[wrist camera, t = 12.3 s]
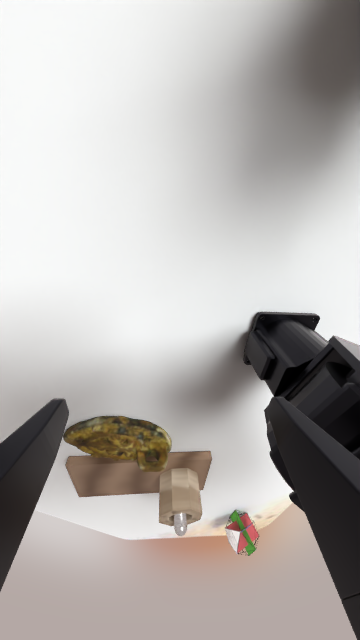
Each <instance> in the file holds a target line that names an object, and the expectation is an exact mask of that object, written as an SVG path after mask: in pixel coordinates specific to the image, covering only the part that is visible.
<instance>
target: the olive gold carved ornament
mask: <svg viewBox="0 0 360 640" xmlns="http://www.w3.org/2000/svg"><path fill="white" fill-rule="evenodd" d="M63 438H64V440H65V442H67V443H69V444H71V445H73V446H76V447H77V448H78V449H80V450H81V451H83V452H86V453H89V454H91V457H93V458H100V457H102V458H103V457H106V458H112V459H114V461H119V460H132V461H135V460H137V464H138V467H139V468H140V470H142V471H143V472H161V471H163V470H164V469H165V467H166V465H167V462H168V452H170V450H171V438H170V437H169V435H168V434H167V433H166V432H165V431H164V430H163V429H162V428H160V427H159V426H157V425H155V424H153V423H151V422H148V421H144V420H138V419H131V418H127V417H123V416H102V417H95V418H92V419H90V420H86V421H83V422H79V423H77V424H75V425H74V426H71V427H70V428H69V429H67V431H66V432H65V434H64V435H63ZM150 456H153V457H155V458H156V459H157V460H158V461H147V460H146V458H147V457H150Z"/></svg>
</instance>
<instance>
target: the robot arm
mask: <svg viewBox="0 0 360 640" xmlns="http://www.w3.org/2000/svg"><path fill="white" fill-rule="evenodd" d="M262 316H263V318H261V319H260V317H262ZM319 320H320V317H319V316H318V315H317V314H312V313H282V312H260V313H258V314H257V315H256V318H255V321H254V325H253V328H252V331H251V332H250V334H249V337H248V340H247V344H246V347H245V351H244V352H245V355H244V358H243V361H244V363H245V364H247V365H252V366H253V368H254V370H255V371H256V373H257V375H258V377H259V378H260V379H261V380H265V382H266V383H267V385H268V387H269V389H270V390H271V392H272V394H273V395H274V397H272V399H271V401H270V403H269V405H268V406H267V408H266V409H265V410H264V412H265V418H266V424H267V437H268V440H269V444H270V447H271V451H270V457H271V459H272V461H273V463H274V465H275V467H276V468H277V470H278V472H279V473H280V474H281V476H282V477H283V479H284V480H285V482H286V483H287V484H288V485H289V486H290V487H291V488H292V490H293V491H294V492H292V493H291V494H290V495H289V497H290V499H291V501H292V502H293V503H294V504H296V505H297V506H298V507H299V508H300V509H301V510H303V511H304V512H305V514H306V516H307V519H308V521H309V524H310V526H311V528H312V531H313V533H314V536H315V538H316V541H317V543H318V545H319V548H320V550H321V552H322V555H323V558H324V560H325V562H326V565H327V567H328V569H329V572H330V574H331V577H332V579H333V582H334V584H335V587H336V589H337V591H338V594H339V596H340V598H341V599H342V600H341V601H342V604H343V606H344V609H345V611H346V614H347V616H348V618H349V621H350V623H351V626H352V628H353V631H354V633H355V635H356V638H357V640H360V345H357V344H354V343H352V342H349V341H347V340H344V339H342V338H339V337H336V336H332V338H331V339H330V340H329V341H327V340H325V339H324V338H323V337H322V336H320V335H319V334H318V333H317V332H315V331H314V330H315V328H316V326H317V324H318V322H319ZM247 360H248V361H247ZM68 416H69V410H68V407H67V404H66V401H65V399H53V400H51V401H50V402H49V403H48V404H46V405H45V406H44V407H43V408H42V409H41V410H39V411H38V412H37V413H36V414H35V415H33V416H32V417H31V418H30V419H29V420H28V421H26V422H25V423H24V424H23V425H22V426H20V427H19V428H18V429H17V430H16V431H15V432H13V433H12V434H11V435H10V436H9V437H8V438H6V439H5V440H4V441H3V442H2V443H0V591H1V589H2V586H3V584H4V581H5V579H6V576H7V574H8V572H9V569H10V567H11V564H12V562H13V560H14V557H15V555H16V553H17V550H18V548H19V545H20V543H21V540H22V538H23V536H24V533H25V531H26V528H27V526H28V524H29V521H30V519H31V516H32V514H33V512H34V509H35V507H36V504H37V502H38V500H39V497H40V495H41V492H42V490H43V487H44V485H45V483H46V480H47V478H48V475H49V473H50V471H51V468H52V466H53V463H54V461H55V458H56V455H57V452H58V449H59V446H60V443H61V439H62V436H63V433H64V430H65V426H66V423H67V420H68Z"/></svg>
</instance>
